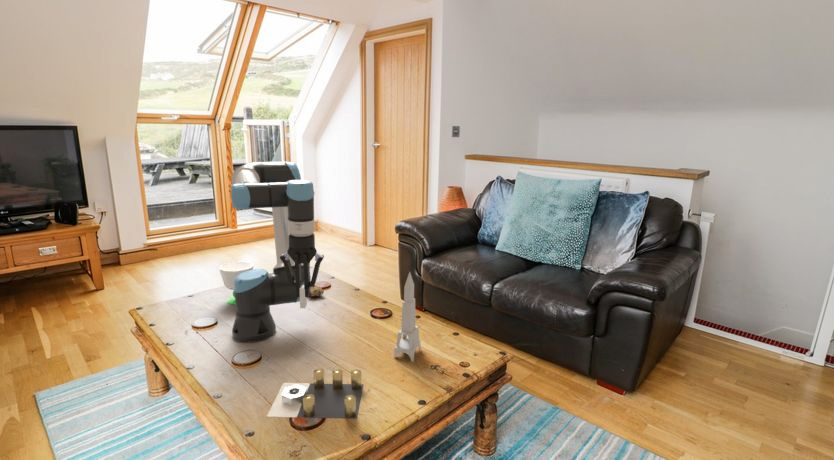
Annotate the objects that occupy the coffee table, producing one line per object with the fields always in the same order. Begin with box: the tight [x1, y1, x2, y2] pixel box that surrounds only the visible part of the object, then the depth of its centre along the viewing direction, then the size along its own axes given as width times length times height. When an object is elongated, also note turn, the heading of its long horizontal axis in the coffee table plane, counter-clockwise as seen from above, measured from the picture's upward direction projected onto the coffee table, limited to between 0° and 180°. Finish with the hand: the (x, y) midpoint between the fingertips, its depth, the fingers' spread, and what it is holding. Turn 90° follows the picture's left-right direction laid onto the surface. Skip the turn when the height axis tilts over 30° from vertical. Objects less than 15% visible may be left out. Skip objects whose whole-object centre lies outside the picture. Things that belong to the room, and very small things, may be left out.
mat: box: [266, 382, 364, 419], centre depth 128 cm, size 24×16×1 cm, turn 90°
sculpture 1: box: [309, 284, 325, 297], centre depth 205 cm, size 8×19×5 cm, turn 61°
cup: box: [218, 260, 254, 306], centre depth 195 cm, size 14×14×16 cm
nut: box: [282, 385, 307, 407], centre depth 128 cm, size 7×6×3 cm
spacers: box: [303, 368, 362, 419], centre depth 128 cm, size 14×16×5 cm
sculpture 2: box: [393, 271, 422, 363], centre depth 152 cm, size 7×8×30 cm
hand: (303, 306), depth 140 cm, fingers closed
